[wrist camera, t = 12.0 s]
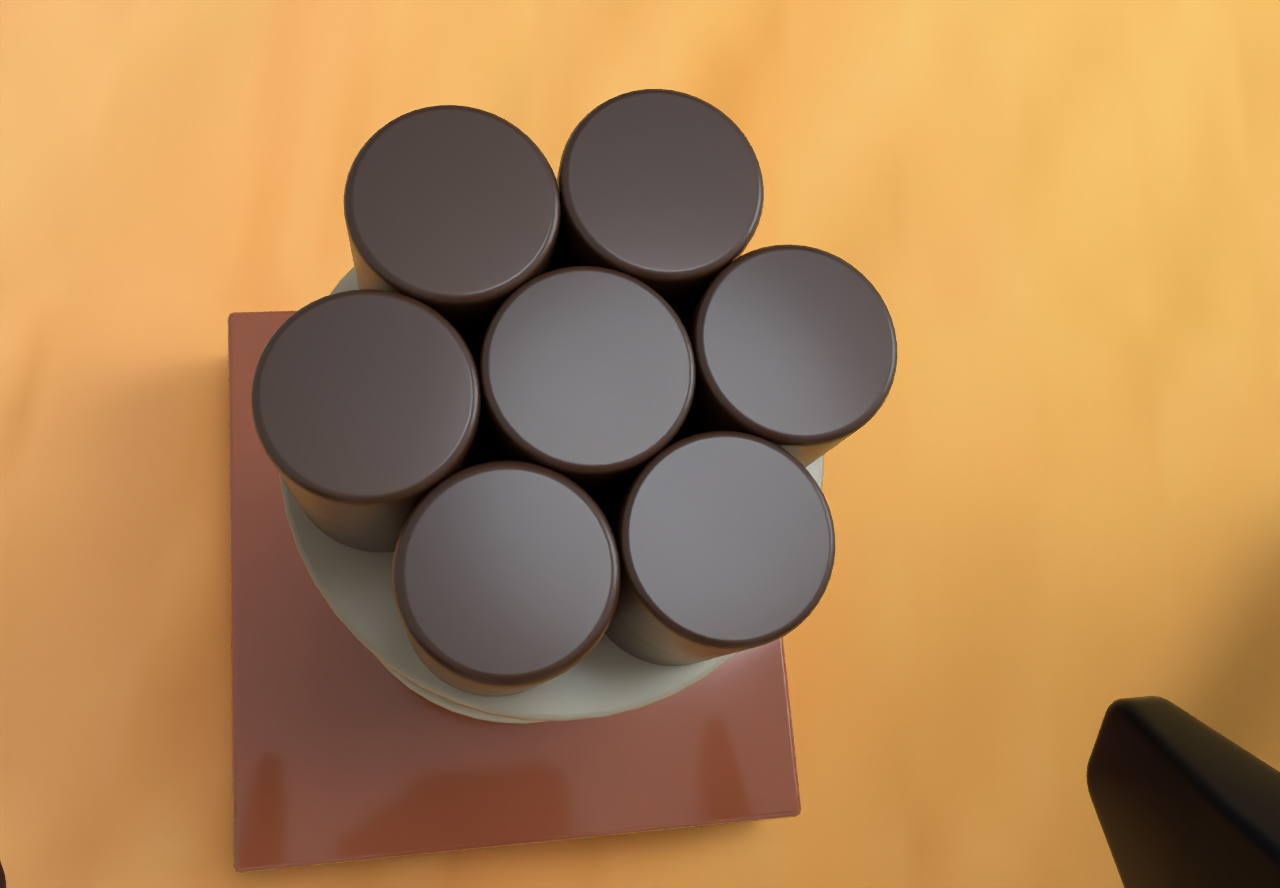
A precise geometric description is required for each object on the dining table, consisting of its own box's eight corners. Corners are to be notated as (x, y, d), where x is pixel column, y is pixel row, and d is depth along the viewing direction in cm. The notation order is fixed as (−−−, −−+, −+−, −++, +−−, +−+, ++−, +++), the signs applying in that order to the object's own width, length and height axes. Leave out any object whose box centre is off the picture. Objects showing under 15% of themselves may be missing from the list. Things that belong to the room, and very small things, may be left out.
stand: (768, 807, 20) (803, 816, 18) (254, 858, 18) (232, 873, 16) (720, 335, 21) (748, 296, 19) (247, 351, 20) (226, 310, 18)
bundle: (732, 585, 18) (1048, 427, 9) (485, 794, 17) (536, 877, 7) (536, 347, 19) (634, -57, 9) (282, 535, 17) (82, 297, 8)
